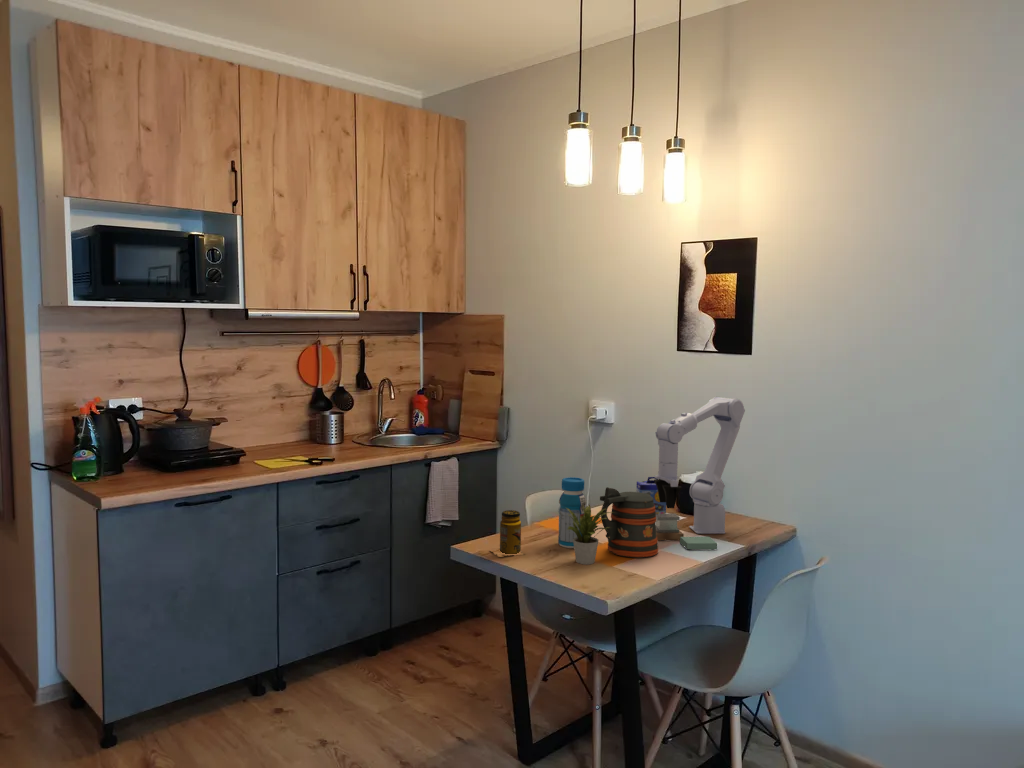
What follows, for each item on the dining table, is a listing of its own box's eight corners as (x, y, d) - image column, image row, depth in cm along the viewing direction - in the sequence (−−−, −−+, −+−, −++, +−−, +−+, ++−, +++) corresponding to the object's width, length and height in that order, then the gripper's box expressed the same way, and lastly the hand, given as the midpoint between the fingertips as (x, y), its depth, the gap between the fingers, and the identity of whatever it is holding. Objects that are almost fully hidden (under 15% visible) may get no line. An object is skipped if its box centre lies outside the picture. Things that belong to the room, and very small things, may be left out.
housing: (674, 529, 235) (675, 513, 235) (679, 532, 231) (679, 517, 231) (653, 529, 235) (653, 513, 234) (657, 533, 231) (657, 517, 230)
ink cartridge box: (638, 519, 255) (640, 477, 254) (634, 515, 260) (635, 474, 259) (666, 518, 256) (668, 477, 255) (662, 514, 261) (663, 474, 260)
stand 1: (676, 534, 237) (676, 527, 237) (683, 540, 230) (683, 534, 230) (648, 534, 236) (649, 528, 236) (654, 540, 229) (655, 534, 229)
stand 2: (708, 542, 228) (709, 536, 228) (717, 549, 221) (717, 543, 221) (680, 543, 227) (680, 536, 227) (687, 550, 220) (687, 543, 220)
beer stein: (622, 565, 205) (623, 493, 204) (585, 551, 217) (587, 484, 215) (668, 553, 217) (670, 485, 215) (631, 541, 228) (633, 477, 227)
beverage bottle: (563, 550, 218) (564, 482, 217) (553, 541, 226) (555, 477, 225) (590, 548, 221) (591, 481, 219) (579, 540, 229) (581, 475, 227)
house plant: (622, 568, 202) (624, 509, 201) (575, 573, 198) (576, 512, 197) (601, 553, 216) (602, 497, 214) (556, 556, 212) (557, 500, 210)
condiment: (525, 554, 213) (526, 513, 212) (498, 558, 210) (499, 516, 209) (515, 547, 220) (515, 508, 219) (488, 551, 216) (489, 510, 215)
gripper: (649, 457, 238) (648, 499, 239) (662, 466, 224) (660, 510, 225) (670, 457, 239) (669, 499, 240) (685, 466, 224) (683, 510, 225)
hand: (666, 504), depth 232 cm, fingers open, 7 cm apart
